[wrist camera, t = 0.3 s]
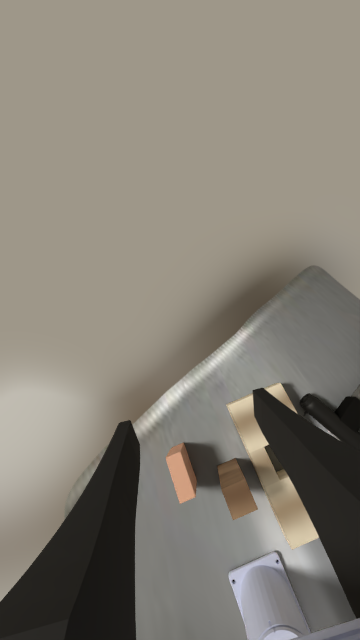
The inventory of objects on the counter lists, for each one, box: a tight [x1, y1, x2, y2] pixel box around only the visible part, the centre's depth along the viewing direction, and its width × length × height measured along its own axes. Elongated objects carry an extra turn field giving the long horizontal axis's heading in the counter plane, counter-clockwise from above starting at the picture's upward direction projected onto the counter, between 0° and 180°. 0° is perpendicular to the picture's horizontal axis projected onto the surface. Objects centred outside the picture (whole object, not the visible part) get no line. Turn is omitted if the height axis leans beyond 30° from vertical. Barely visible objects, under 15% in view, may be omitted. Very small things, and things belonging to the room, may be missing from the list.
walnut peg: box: [217, 458, 258, 520], centre depth 31 cm, size 3×3×9 cm
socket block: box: [226, 383, 319, 550], centre depth 34 cm, size 20×10×3 cm, turn 21°
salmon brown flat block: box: [166, 443, 197, 504], centre depth 33 cm, size 6×2×6 cm, turn 22°
